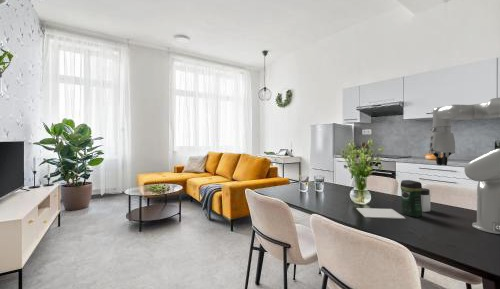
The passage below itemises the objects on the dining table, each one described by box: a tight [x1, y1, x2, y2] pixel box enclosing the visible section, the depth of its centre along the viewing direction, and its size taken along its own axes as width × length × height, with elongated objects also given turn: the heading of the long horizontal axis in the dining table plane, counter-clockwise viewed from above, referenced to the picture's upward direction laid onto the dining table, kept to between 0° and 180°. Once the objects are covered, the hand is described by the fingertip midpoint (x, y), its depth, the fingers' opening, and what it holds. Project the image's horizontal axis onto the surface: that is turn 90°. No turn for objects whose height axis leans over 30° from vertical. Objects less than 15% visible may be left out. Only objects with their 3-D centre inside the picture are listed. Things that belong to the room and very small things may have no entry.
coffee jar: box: [400, 179, 423, 218], centre depth 129 cm, size 10×8×19 cm
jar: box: [421, 187, 431, 213], centre depth 137 cm, size 9×8×12 cm
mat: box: [355, 207, 407, 220], centre depth 131 cm, size 16×20×1 cm
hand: (441, 164), depth 126 cm, fingers closed
